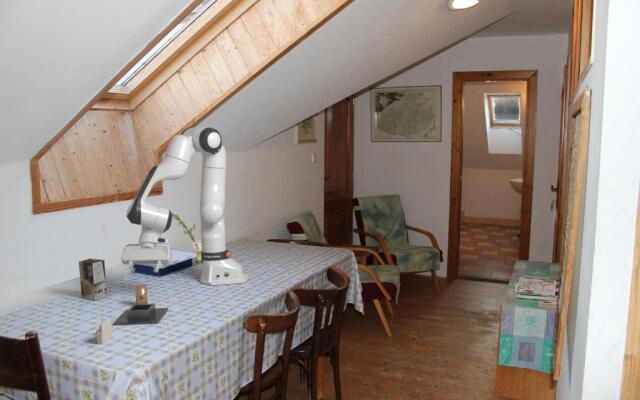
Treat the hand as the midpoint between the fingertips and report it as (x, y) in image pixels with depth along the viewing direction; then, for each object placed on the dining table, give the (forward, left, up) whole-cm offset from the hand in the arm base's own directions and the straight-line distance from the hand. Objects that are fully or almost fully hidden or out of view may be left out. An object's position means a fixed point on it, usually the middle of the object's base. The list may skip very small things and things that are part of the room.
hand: (143, 271), depth 231 cm
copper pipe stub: (0, +7, -12) cm, 14 cm away
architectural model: (+1, +45, -13) cm, 47 cm away
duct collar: (-4, +22, -12) cm, 25 cm away
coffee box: (+24, -7, -12) cm, 28 cm away
